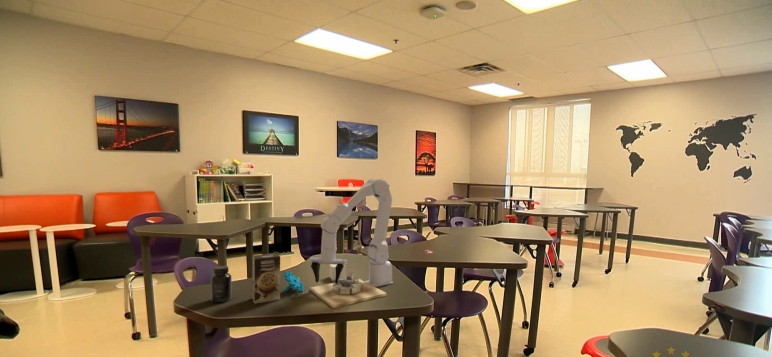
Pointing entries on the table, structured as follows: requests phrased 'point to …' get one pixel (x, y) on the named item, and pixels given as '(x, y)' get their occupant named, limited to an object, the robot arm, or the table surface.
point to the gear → (293, 282)
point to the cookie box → (266, 278)
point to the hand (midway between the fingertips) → (327, 282)
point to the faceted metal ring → (354, 287)
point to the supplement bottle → (221, 285)
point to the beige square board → (346, 299)
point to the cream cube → (333, 272)
